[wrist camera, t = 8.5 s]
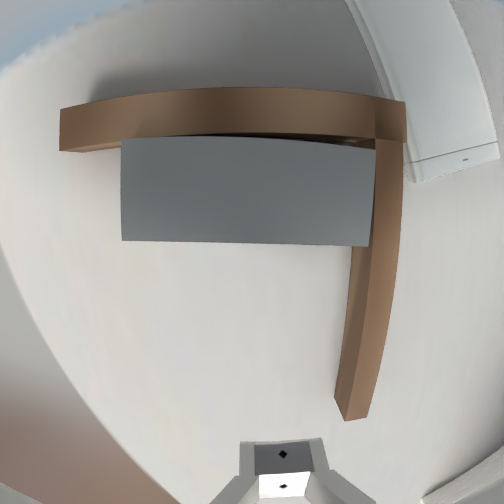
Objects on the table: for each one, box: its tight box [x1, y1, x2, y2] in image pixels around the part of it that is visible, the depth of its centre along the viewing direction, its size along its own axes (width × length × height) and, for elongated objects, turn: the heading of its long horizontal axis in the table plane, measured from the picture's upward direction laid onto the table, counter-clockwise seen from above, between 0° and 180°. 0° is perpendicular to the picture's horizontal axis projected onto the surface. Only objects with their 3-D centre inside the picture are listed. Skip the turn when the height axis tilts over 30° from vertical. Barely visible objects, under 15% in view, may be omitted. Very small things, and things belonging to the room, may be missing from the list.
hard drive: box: [345, 0, 501, 183], centre depth 14 cm, size 2×8×12 cm
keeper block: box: [121, 136, 376, 246], centre depth 13 cm, size 10×4×4 cm, turn 88°
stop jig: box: [59, 87, 407, 421], centre depth 15 cm, size 16×18×2 cm
